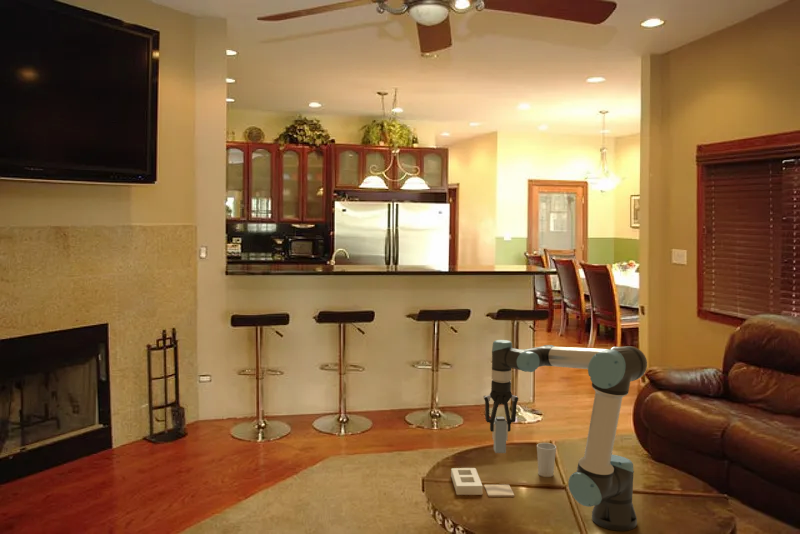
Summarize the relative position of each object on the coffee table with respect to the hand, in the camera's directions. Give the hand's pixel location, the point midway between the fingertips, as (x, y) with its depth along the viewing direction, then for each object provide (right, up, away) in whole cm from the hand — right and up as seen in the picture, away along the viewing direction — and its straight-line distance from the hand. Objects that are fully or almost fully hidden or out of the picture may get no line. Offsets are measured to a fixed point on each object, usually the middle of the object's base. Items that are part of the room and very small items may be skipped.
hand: (499, 439), depth 254 cm
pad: (0, -21, +1) cm, 21 cm away
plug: (0, -5, 0) cm, 5 cm away
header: (-12, -20, +7) cm, 25 cm away
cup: (+22, -20, +19) cm, 36 cm away
